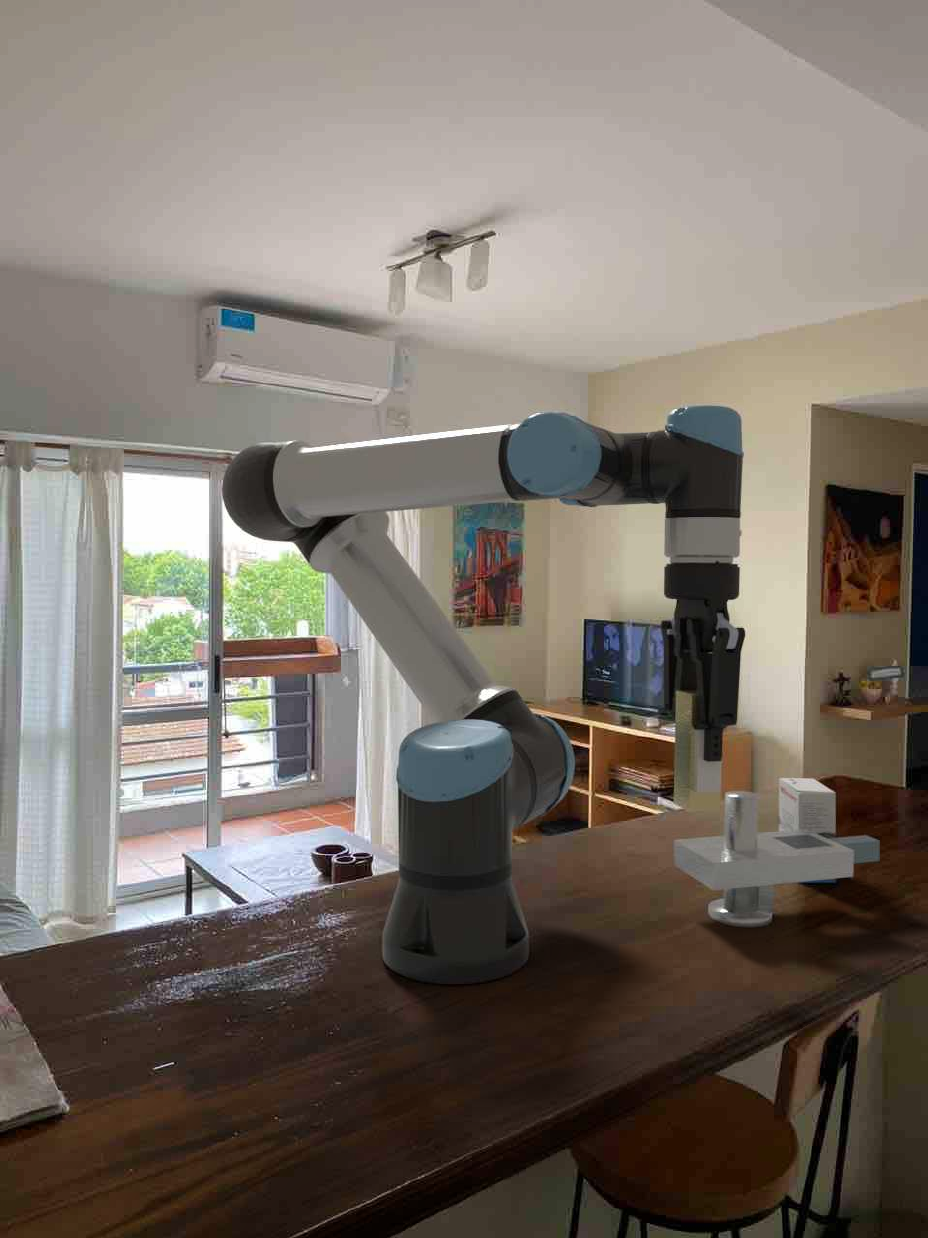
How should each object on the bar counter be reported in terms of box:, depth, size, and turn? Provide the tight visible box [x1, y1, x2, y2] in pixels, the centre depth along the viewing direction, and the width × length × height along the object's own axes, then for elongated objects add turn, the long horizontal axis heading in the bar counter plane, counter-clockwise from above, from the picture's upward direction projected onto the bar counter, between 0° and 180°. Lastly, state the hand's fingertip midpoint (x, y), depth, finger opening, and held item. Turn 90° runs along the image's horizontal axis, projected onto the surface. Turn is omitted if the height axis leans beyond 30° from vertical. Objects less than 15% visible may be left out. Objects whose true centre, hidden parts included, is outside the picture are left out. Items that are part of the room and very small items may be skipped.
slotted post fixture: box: [673, 790, 881, 928], centre depth 108 cm, size 24×9×14 cm, turn 104°
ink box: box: [778, 777, 837, 884], centre depth 122 cm, size 9×5×12 cm, turn 179°
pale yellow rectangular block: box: [673, 690, 723, 813], centre depth 97 cm, size 4×4×12 cm
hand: (697, 786), depth 98 cm, fingers closed on pale yellow rectangular block, 3 cm apart
